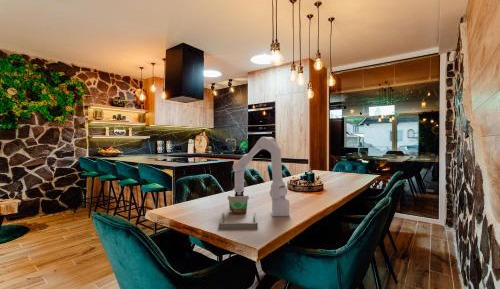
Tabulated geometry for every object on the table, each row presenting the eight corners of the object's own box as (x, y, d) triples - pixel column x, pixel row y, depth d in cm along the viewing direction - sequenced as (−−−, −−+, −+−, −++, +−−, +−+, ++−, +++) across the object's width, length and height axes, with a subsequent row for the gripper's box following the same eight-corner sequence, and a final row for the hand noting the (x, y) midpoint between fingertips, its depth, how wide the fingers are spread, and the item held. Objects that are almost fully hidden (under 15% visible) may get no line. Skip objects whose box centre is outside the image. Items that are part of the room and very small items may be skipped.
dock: (255, 217, 137) (255, 212, 137) (257, 228, 120) (257, 223, 120) (222, 217, 137) (222, 213, 136) (219, 229, 120) (219, 223, 119)
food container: (228, 216, 140) (228, 197, 139) (227, 212, 146) (227, 195, 145) (250, 214, 142) (250, 196, 142) (248, 211, 148) (248, 194, 148)
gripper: (233, 179, 165) (233, 200, 165) (232, 184, 150) (232, 207, 151) (244, 179, 165) (244, 200, 165) (244, 184, 150) (244, 206, 151)
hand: (239, 203), depth 158 cm, fingers open, 7 cm apart
